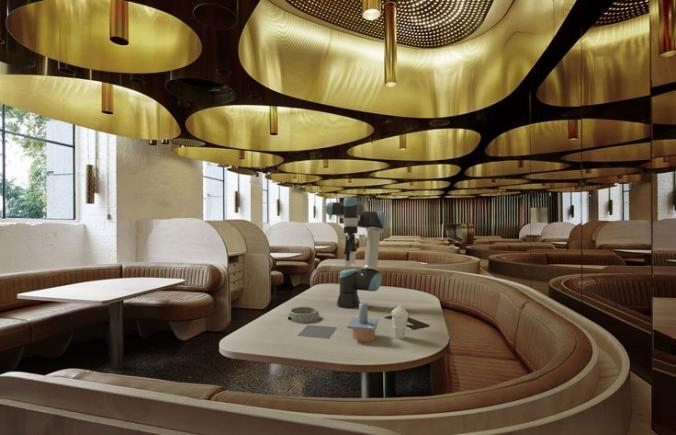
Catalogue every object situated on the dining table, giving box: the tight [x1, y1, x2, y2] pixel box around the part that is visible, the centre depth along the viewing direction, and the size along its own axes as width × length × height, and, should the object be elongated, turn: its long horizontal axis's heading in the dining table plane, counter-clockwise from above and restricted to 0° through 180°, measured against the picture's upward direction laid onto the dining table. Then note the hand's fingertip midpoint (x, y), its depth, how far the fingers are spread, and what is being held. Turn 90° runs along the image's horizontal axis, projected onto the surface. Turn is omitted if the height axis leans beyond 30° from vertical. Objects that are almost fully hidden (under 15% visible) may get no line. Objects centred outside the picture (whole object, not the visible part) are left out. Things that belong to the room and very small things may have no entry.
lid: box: [346, 302, 379, 332], centre depth 155 cm, size 13×13×10 cm
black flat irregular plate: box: [383, 315, 431, 331], centre depth 178 cm, size 25×1×15 cm
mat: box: [297, 324, 338, 340], centre depth 161 cm, size 16×16×1 cm
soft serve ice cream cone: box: [390, 303, 409, 340], centre depth 155 cm, size 8×8×16 cm
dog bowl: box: [287, 305, 320, 324], centre depth 183 cm, size 17×18×5 cm
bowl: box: [350, 329, 376, 343], centre depth 155 cm, size 11×11×6 cm
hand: (350, 264), depth 176 cm, fingers open, 13 cm apart
